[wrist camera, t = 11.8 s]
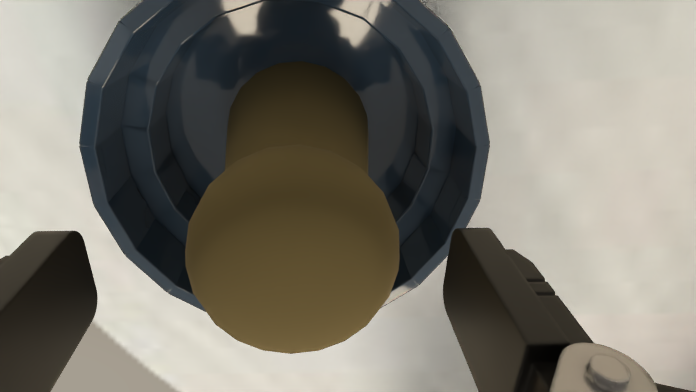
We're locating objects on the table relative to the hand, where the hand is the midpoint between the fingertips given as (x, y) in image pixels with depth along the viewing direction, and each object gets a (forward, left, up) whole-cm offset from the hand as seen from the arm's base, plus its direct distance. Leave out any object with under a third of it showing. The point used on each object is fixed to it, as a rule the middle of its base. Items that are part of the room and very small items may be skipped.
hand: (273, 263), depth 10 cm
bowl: (0, 0, -11) cm, 11 cm away
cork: (0, 0, -11) cm, 11 cm away
